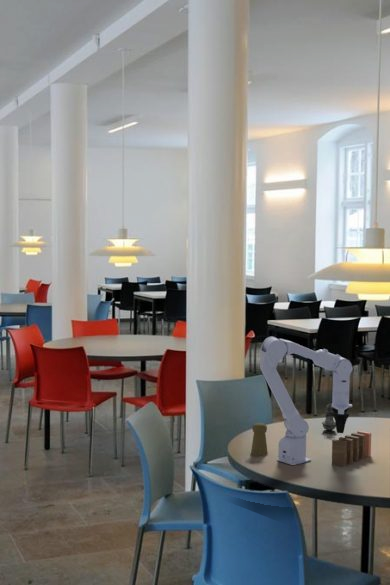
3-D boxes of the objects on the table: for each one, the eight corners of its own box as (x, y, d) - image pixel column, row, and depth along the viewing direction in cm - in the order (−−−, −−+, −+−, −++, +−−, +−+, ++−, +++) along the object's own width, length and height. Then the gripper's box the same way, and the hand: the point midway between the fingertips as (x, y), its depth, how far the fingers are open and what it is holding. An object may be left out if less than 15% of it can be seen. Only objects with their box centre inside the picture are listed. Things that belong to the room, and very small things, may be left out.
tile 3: (356, 461, 285) (357, 438, 285) (344, 459, 288) (344, 435, 288) (358, 460, 287) (359, 437, 286) (346, 458, 290) (347, 434, 289)
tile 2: (350, 464, 282) (350, 440, 282) (338, 461, 285) (338, 437, 285) (352, 463, 283) (353, 439, 283) (340, 460, 287) (341, 437, 286)
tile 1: (344, 467, 279) (344, 442, 278) (331, 464, 282) (332, 440, 282) (346, 466, 280) (347, 441, 280) (334, 463, 283) (334, 439, 283)
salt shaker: (319, 432, 326) (320, 402, 325) (324, 429, 331) (325, 400, 330) (334, 434, 323) (334, 404, 322) (338, 431, 328) (339, 401, 327)
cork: (266, 451, 298) (267, 421, 297) (268, 456, 292) (269, 425, 291) (250, 451, 298) (250, 421, 297) (251, 456, 291) (252, 425, 291)
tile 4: (362, 459, 289) (363, 435, 288) (350, 456, 292) (351, 433, 291) (364, 458, 290) (365, 435, 289) (352, 455, 293) (353, 432, 292)
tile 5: (368, 456, 292) (369, 433, 291) (356, 454, 295) (357, 431, 294) (370, 456, 293) (371, 432, 292) (358, 453, 296) (359, 430, 295)
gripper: (353, 396, 279) (352, 435, 280) (351, 388, 294) (350, 425, 295) (332, 395, 280) (331, 434, 281) (331, 387, 295) (330, 424, 296)
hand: (339, 430), depth 288 cm, fingers open, 7 cm apart
